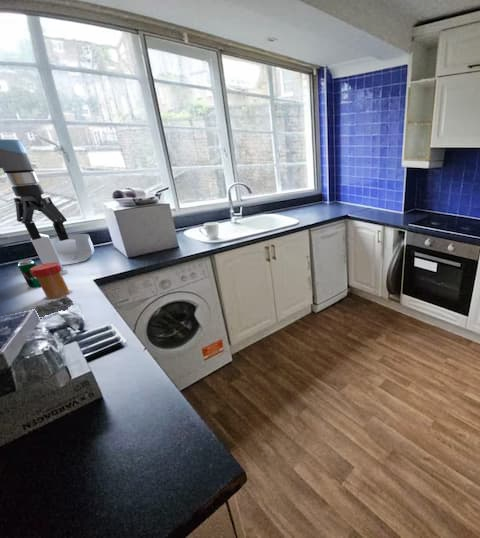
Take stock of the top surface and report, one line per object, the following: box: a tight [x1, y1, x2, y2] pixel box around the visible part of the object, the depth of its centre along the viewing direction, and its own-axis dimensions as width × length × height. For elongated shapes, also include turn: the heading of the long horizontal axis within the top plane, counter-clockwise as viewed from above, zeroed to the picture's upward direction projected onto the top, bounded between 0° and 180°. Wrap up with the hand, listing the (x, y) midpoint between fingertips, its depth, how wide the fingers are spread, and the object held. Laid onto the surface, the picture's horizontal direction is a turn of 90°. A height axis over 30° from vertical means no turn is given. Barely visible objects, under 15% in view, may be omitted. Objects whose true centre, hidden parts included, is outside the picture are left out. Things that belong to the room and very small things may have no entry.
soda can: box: [17, 259, 41, 289], centre depth 130 cm, size 5×5×12 cm
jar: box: [37, 272, 71, 300], centre depth 121 cm, size 7×7×12 cm
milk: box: [30, 232, 66, 276], centre depth 141 cm, size 6×6×22 cm
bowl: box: [50, 233, 95, 266], centre depth 162 cm, size 20×19×12 cm
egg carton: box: [30, 295, 74, 317], centre depth 110 cm, size 11×8×4 cm
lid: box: [30, 263, 62, 277], centre depth 119 cm, size 8×8×3 cm
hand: (50, 239), depth 117 cm, fingers open, 13 cm apart
